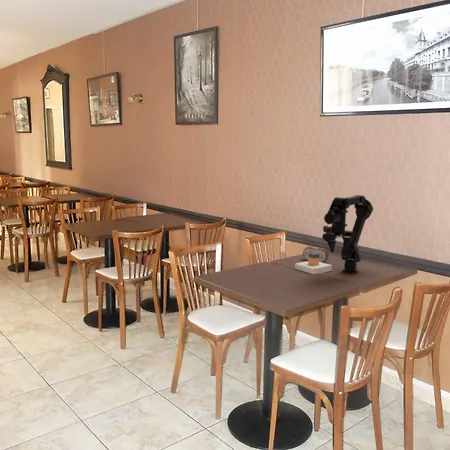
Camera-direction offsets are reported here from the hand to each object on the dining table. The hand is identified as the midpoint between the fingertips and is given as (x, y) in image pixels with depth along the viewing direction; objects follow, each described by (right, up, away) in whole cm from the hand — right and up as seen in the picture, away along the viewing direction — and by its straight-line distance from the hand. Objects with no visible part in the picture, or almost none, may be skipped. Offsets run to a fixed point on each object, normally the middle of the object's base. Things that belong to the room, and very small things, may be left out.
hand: (338, 251), depth 247 cm
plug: (-10, -11, +15) cm, 21 cm away
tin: (-6, -8, +34) cm, 35 cm away
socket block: (-10, -11, +15) cm, 21 cm away
